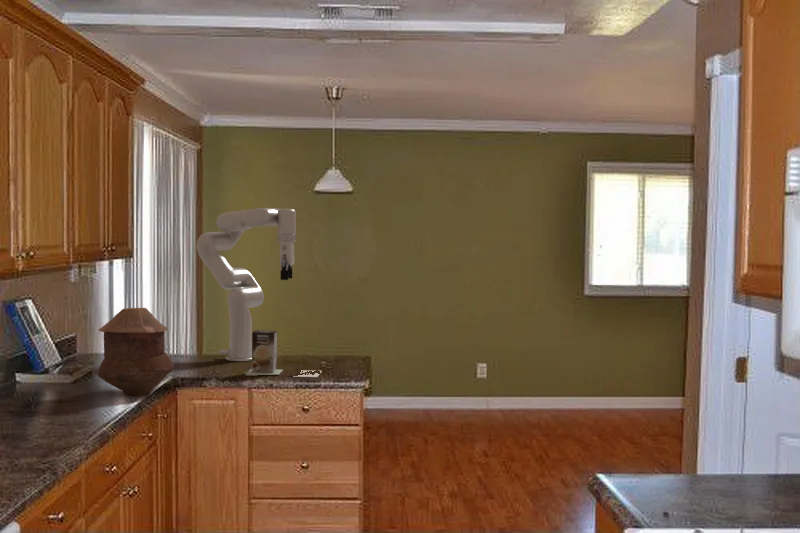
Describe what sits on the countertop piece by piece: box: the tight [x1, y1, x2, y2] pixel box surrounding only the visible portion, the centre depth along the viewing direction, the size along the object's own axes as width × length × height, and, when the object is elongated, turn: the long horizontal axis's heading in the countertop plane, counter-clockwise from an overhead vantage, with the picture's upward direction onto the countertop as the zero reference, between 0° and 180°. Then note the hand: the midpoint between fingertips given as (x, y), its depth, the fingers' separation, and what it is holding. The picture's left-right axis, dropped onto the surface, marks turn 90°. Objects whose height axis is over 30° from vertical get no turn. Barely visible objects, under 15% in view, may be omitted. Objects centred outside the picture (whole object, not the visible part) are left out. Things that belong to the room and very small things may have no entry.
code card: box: [293, 369, 323, 378], centre depth 349 cm, size 12×14×1 cm
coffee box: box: [251, 329, 278, 373], centre depth 348 cm, size 9×6×16 cm
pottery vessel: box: [97, 307, 175, 396], centre depth 307 cm, size 26×26×30 cm
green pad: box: [245, 368, 284, 376], centre depth 349 cm, size 13×10×1 cm
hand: (286, 279), depth 368 cm, fingers open, 9 cm apart
